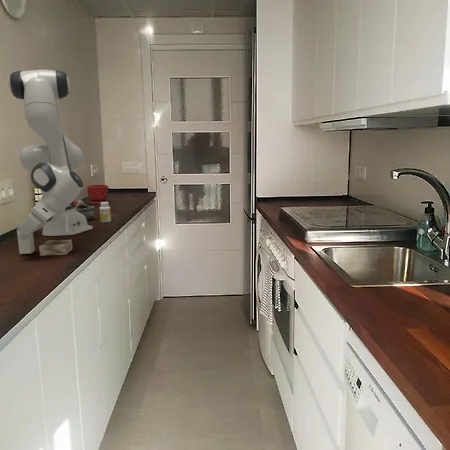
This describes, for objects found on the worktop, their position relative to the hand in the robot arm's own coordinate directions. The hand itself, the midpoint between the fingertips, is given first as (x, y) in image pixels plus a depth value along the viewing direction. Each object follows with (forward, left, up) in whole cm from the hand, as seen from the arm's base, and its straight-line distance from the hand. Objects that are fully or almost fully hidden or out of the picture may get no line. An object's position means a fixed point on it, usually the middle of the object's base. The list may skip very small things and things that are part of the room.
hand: (23, 237), depth 164 cm
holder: (-7, +8, -6) cm, 13 cm away
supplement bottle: (-61, -22, -7) cm, 66 cm away
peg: (0, +1, -6) cm, 6 cm away
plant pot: (-107, -76, -7) cm, 132 cm away
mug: (-59, -36, -7) cm, 70 cm away
